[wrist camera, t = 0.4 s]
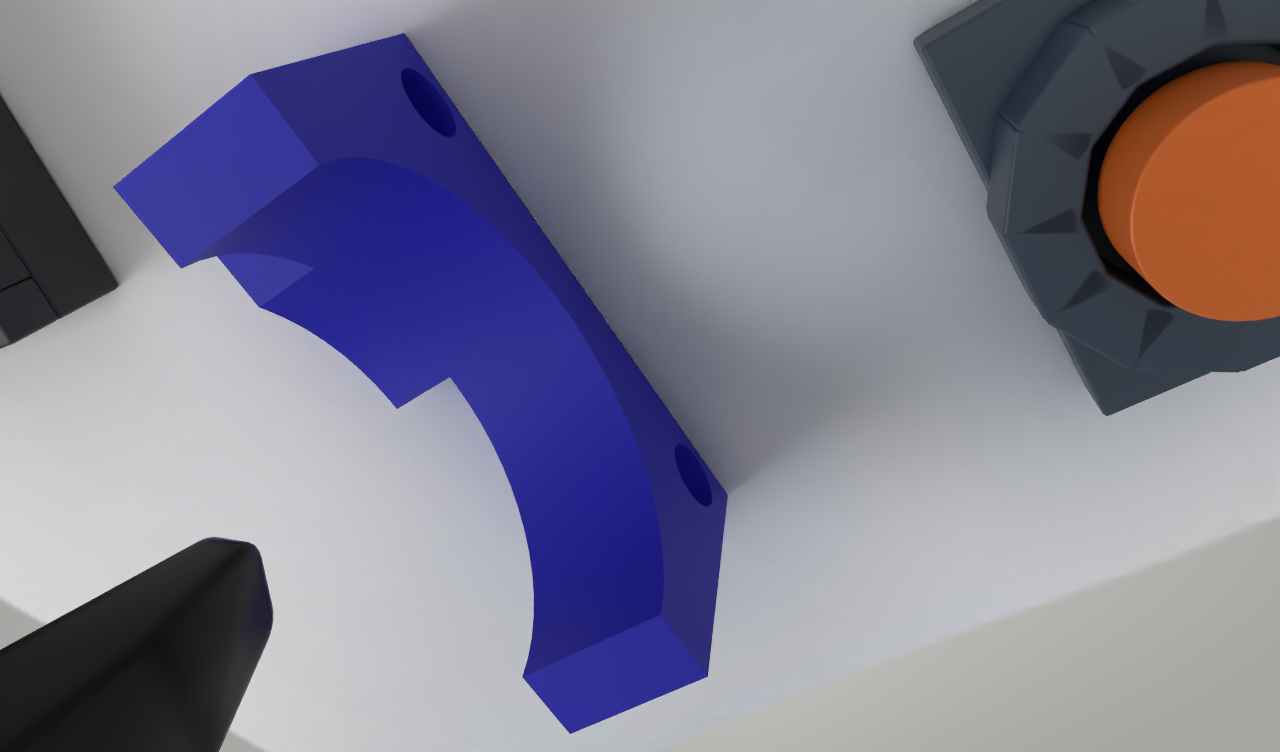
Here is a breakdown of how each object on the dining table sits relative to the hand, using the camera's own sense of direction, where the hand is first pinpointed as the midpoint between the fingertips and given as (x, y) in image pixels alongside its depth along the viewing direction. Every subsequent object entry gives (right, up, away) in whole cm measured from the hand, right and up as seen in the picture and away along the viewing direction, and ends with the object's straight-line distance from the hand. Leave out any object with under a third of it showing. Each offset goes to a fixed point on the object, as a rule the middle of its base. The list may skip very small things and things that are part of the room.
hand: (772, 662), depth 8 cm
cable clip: (-4, +3, +14) cm, 15 cm away
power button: (+8, +6, +8) cm, 12 cm away
